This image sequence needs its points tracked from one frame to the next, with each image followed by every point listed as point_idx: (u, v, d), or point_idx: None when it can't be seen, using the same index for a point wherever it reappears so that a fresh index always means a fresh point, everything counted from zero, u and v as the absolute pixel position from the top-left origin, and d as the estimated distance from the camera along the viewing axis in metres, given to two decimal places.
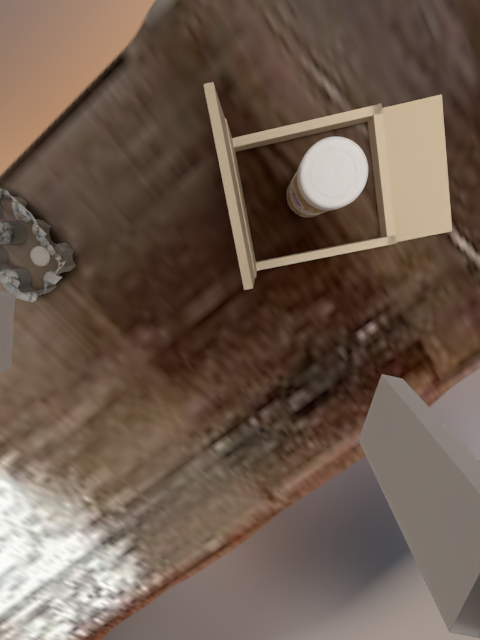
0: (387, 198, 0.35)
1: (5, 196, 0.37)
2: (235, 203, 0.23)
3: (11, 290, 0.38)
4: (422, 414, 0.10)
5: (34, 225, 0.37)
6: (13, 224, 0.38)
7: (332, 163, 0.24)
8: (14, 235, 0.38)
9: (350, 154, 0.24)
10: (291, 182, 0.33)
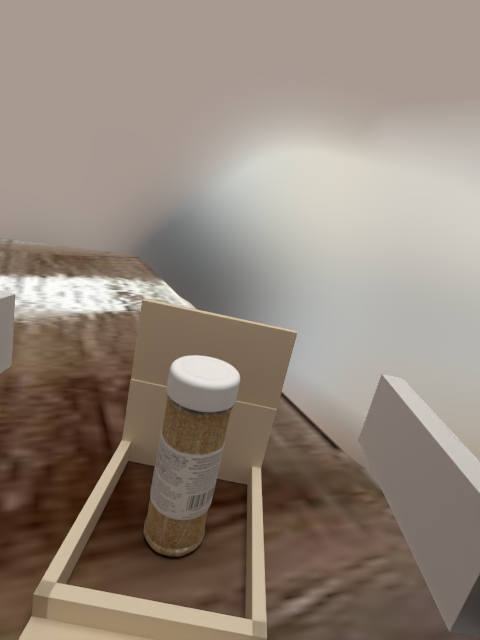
0: (117, 602, 0.20)
1: None
2: (210, 314, 0.29)
3: None
4: (422, 414, 0.10)
5: None
6: None
7: (215, 369, 0.23)
8: None
9: (218, 378, 0.22)
10: None
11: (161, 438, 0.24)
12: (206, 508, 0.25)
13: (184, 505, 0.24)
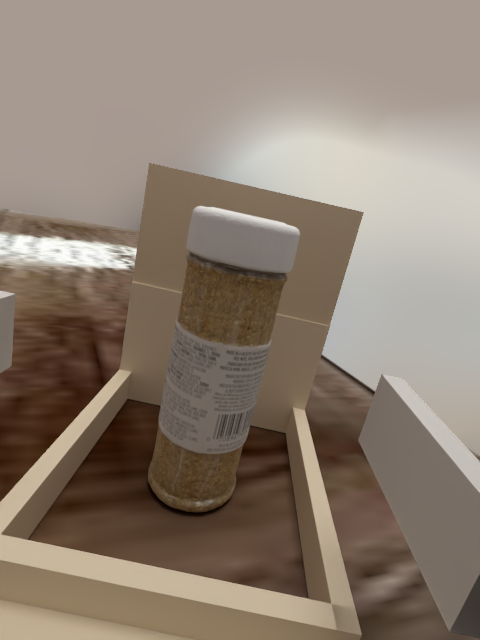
0: (103, 569, 0.12)
1: None
2: (243, 185, 0.21)
3: None
4: (422, 414, 0.10)
5: None
6: None
7: None
8: None
9: (270, 220, 0.14)
10: None
11: (177, 327, 0.16)
12: (242, 441, 0.17)
13: (211, 430, 0.16)
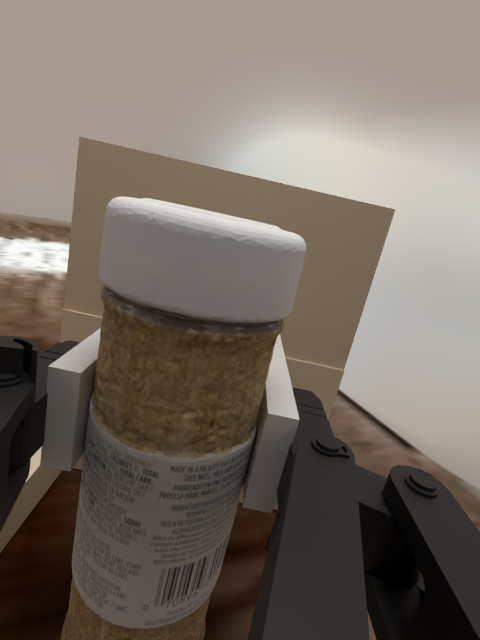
0: None
1: None
2: (220, 170, 0.14)
3: None
4: None
5: None
6: None
7: None
8: None
9: (249, 223, 0.07)
10: None
11: (89, 411, 0.09)
12: (209, 589, 0.10)
13: (150, 593, 0.09)
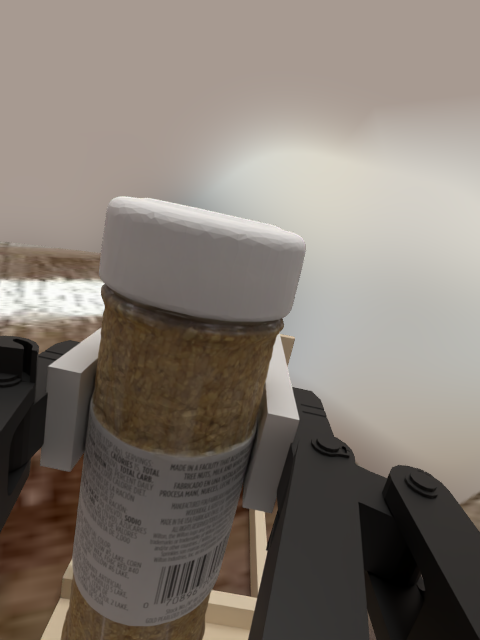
0: None
1: None
2: None
3: None
4: None
5: None
6: None
7: None
8: None
9: (249, 223, 0.07)
10: None
11: (90, 410, 0.09)
12: (209, 588, 0.10)
13: (150, 591, 0.09)
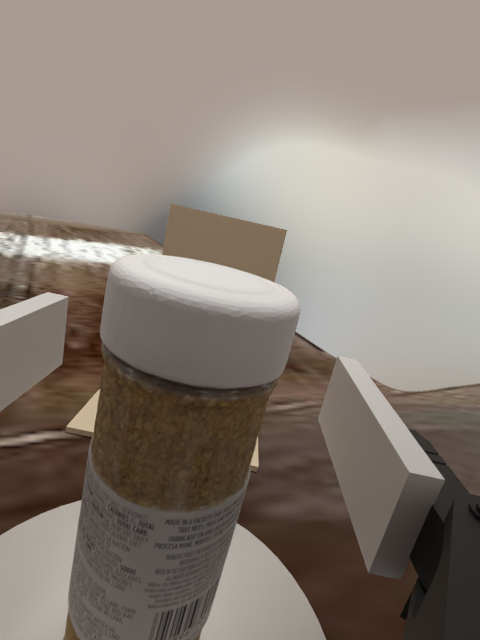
0: None
1: None
2: (221, 215, 0.39)
3: None
4: (365, 388, 0.11)
5: None
6: None
7: (235, 279, 0.09)
8: None
9: (246, 292, 0.08)
10: None
11: (88, 458, 0.09)
12: (201, 627, 0.10)
13: (143, 635, 0.09)
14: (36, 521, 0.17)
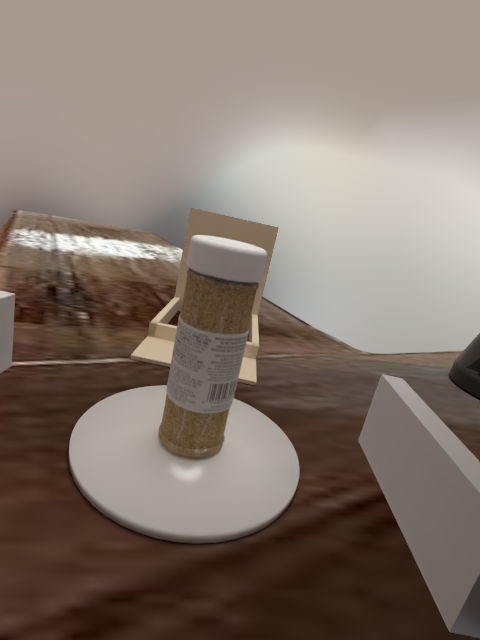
0: None
1: None
2: None
3: None
4: (422, 414, 0.10)
5: None
6: None
7: (240, 244, 0.21)
8: None
9: (244, 246, 0.20)
10: None
11: (180, 321, 0.22)
12: (228, 405, 0.23)
13: (205, 395, 0.22)
14: (129, 391, 0.29)
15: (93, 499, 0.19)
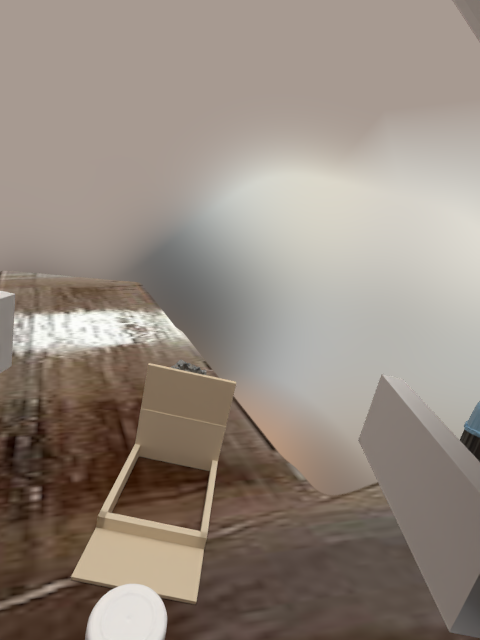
0: (136, 521, 0.42)
1: (203, 374, 0.83)
2: (187, 373, 0.52)
3: None
4: (422, 414, 0.10)
5: None
6: None
7: (139, 619, 0.22)
8: None
9: None
10: None
11: None
12: None
13: None
14: None
15: None
